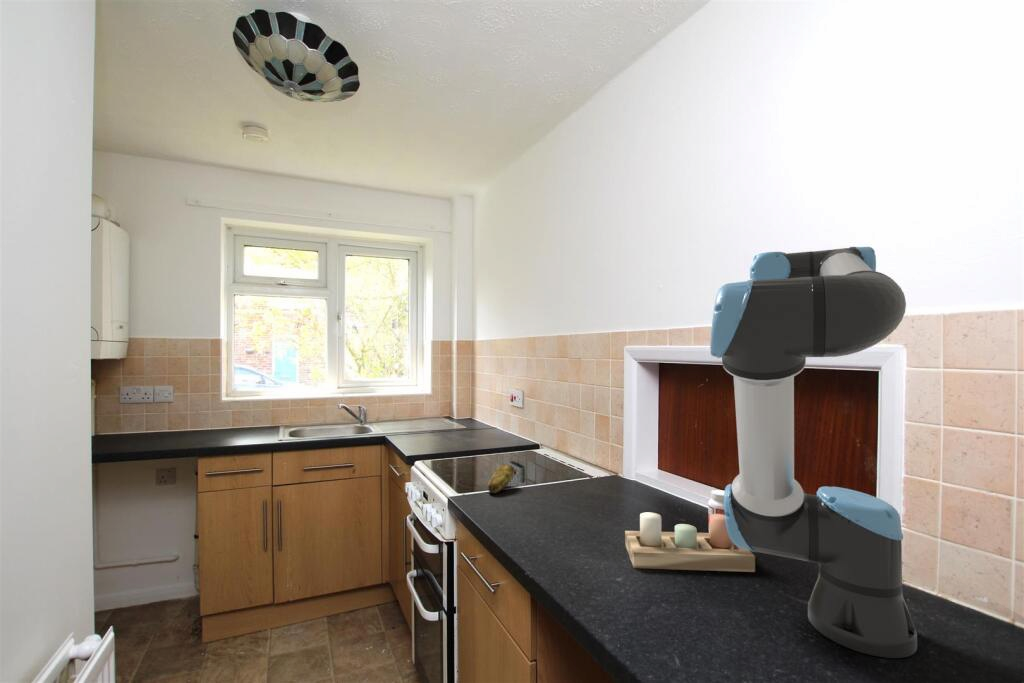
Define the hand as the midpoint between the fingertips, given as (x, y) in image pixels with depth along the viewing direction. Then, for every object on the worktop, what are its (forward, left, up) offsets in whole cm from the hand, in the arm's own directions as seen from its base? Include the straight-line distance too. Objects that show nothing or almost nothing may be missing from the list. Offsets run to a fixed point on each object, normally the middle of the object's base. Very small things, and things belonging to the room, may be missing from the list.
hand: (772, 416), depth 111 cm
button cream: (-4, +30, -29) cm, 42 cm away
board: (-4, +22, -32) cm, 39 cm away
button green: (-4, +22, -32) cm, 38 cm away
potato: (+44, +71, -33) cm, 89 cm away
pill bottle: (+10, +9, -33) cm, 35 cm away
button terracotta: (-4, +14, -29) cm, 32 cm away
